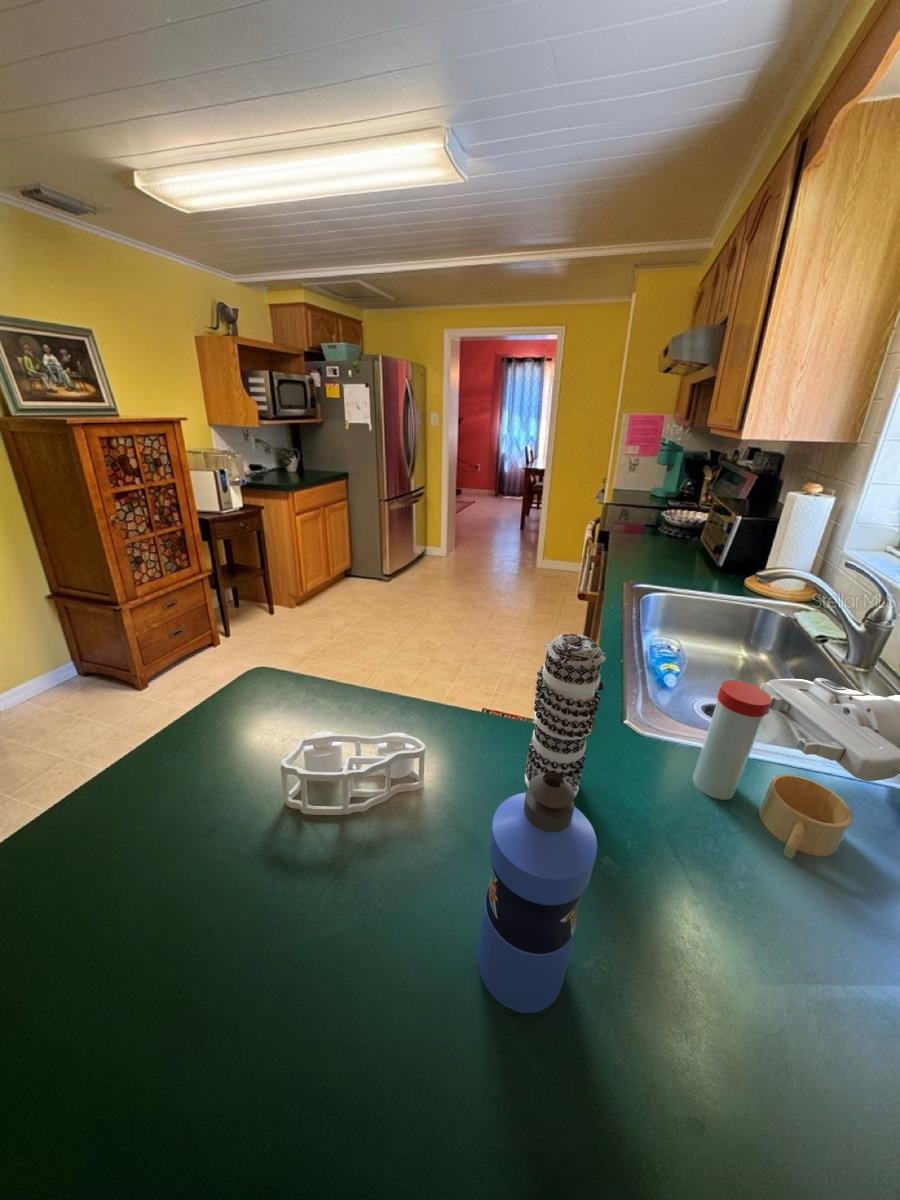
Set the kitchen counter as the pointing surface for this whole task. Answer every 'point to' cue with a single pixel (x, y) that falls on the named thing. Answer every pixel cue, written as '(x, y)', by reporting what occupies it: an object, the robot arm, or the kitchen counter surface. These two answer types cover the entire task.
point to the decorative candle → (565, 708)
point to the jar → (730, 738)
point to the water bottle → (534, 893)
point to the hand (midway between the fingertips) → (777, 725)
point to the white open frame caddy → (352, 769)
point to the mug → (805, 815)
